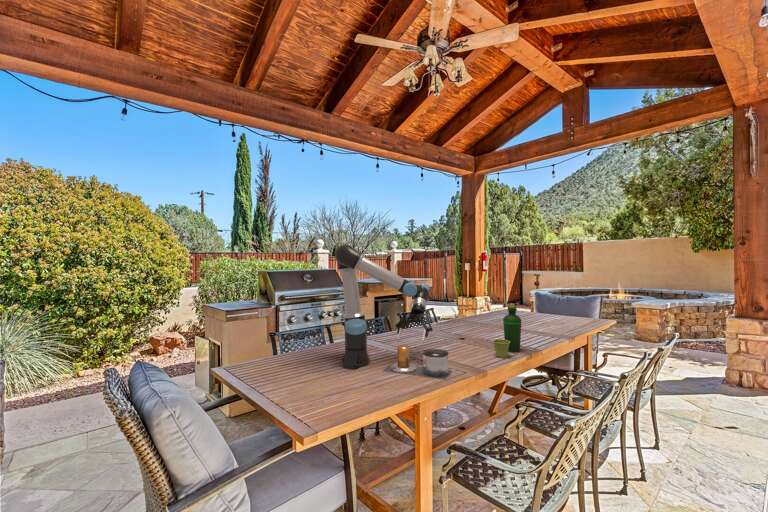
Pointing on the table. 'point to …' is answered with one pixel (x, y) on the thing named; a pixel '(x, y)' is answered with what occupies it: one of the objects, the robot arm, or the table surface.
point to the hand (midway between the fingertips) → (410, 340)
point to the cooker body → (435, 363)
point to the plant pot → (501, 347)
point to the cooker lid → (403, 361)
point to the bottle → (512, 329)
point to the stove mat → (416, 372)
